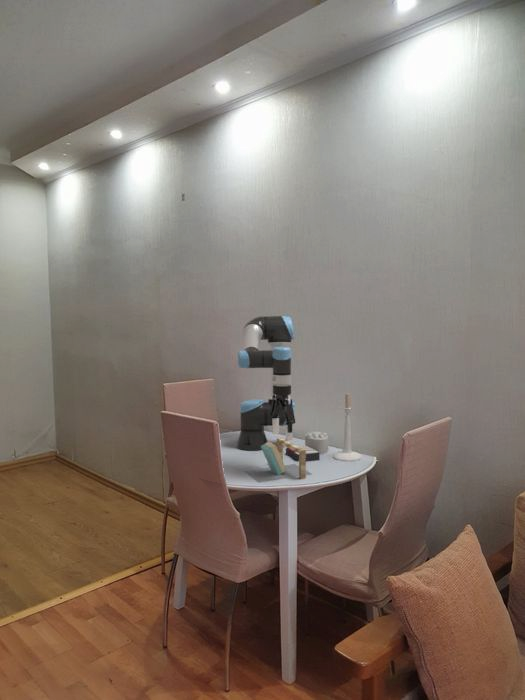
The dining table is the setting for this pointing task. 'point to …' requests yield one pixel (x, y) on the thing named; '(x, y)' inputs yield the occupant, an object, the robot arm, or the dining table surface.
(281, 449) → the rail
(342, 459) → the candlestick
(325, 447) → the lumpy-topped squat cylinder
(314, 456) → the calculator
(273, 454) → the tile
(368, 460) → the dining table surface
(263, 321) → the robot arm
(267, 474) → the mat
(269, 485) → the dining table surface
